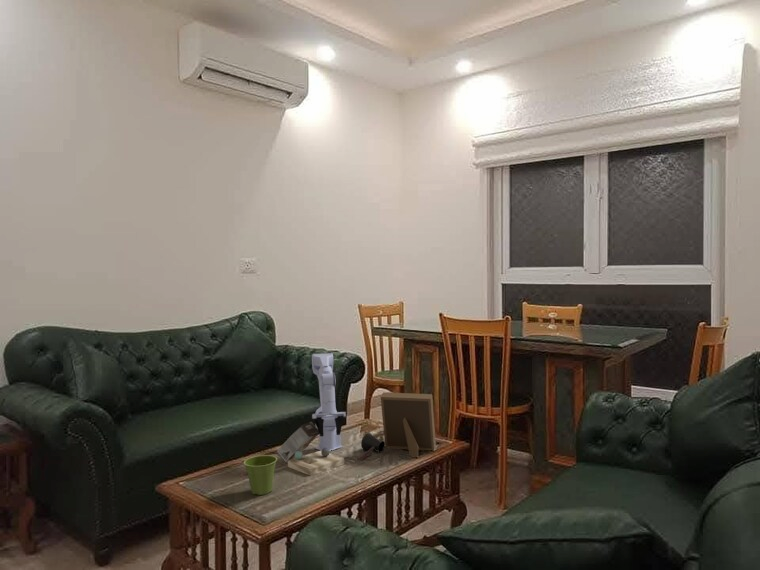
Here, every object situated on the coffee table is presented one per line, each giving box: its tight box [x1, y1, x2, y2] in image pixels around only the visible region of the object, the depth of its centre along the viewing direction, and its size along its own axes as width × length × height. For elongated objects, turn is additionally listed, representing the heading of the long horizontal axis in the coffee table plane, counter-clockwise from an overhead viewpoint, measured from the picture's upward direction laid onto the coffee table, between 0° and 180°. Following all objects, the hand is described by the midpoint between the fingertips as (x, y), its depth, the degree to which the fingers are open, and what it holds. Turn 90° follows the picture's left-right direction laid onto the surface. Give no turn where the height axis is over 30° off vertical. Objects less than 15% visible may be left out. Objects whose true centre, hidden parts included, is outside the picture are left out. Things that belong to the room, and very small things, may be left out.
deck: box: [287, 450, 345, 477], centre depth 226 cm, size 17×15×2 cm
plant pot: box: [243, 454, 278, 496], centre depth 200 cm, size 12×12×11 cm
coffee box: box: [276, 421, 319, 463], centre depth 231 cm, size 9×6×16 cm
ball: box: [320, 448, 331, 457], centre depth 229 cm, size 3×3×3 cm
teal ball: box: [294, 451, 304, 459], centre depth 226 cm, size 3×3×3 cm
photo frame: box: [380, 391, 437, 458], centre depth 240 cm, size 15×22×25 cm
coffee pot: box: [356, 432, 385, 462], centre depth 239 cm, size 8×18×8 cm
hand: (330, 435), depth 231 cm, fingers open, 7 cm apart
